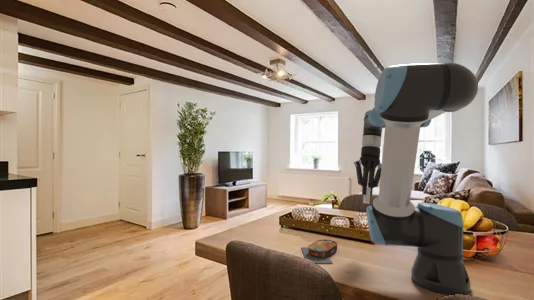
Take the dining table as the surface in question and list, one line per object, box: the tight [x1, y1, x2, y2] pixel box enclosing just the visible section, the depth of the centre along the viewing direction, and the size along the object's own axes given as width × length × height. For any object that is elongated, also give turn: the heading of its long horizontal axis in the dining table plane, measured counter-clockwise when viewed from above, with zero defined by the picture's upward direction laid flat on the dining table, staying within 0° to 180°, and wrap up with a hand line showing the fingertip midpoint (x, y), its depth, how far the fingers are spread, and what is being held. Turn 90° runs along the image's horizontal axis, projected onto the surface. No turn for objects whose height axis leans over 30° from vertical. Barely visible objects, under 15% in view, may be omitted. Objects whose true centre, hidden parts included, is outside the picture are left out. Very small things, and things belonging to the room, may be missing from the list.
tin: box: [307, 239, 338, 258], centre depth 110 cm, size 15×3×8 cm
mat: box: [300, 246, 333, 265], centre depth 107 cm, size 16×9×1 cm, turn 0°
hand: (366, 203), depth 115 cm, fingers closed
